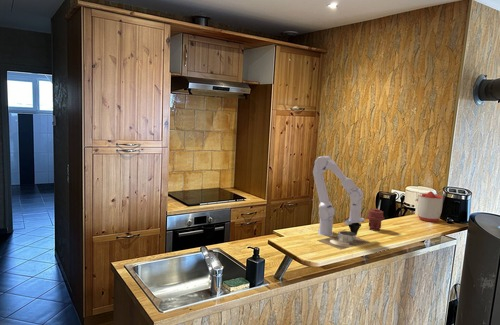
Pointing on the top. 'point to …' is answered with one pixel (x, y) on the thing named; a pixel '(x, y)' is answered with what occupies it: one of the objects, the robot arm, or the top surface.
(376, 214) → the mechanical component
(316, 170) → the robot arm
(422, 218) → the citrus juicer
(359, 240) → the seat board
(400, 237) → the top surface
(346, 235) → the steel bearing ring
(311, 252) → the top surface
